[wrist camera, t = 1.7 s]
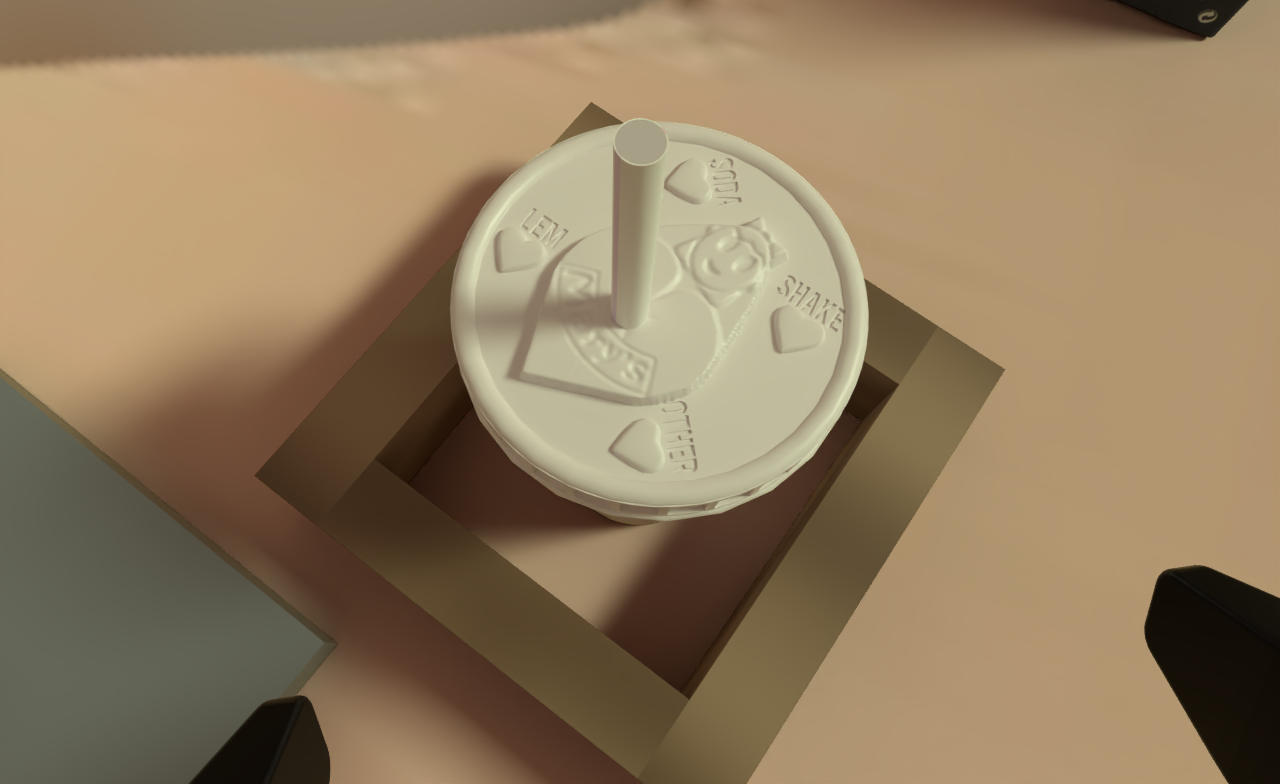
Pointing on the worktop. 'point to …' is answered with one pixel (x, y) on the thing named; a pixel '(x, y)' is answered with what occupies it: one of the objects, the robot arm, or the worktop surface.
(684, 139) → the smoothie
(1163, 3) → the small box
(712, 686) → the holder
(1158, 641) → the robot arm
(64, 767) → the coaster
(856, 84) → the worktop surface
